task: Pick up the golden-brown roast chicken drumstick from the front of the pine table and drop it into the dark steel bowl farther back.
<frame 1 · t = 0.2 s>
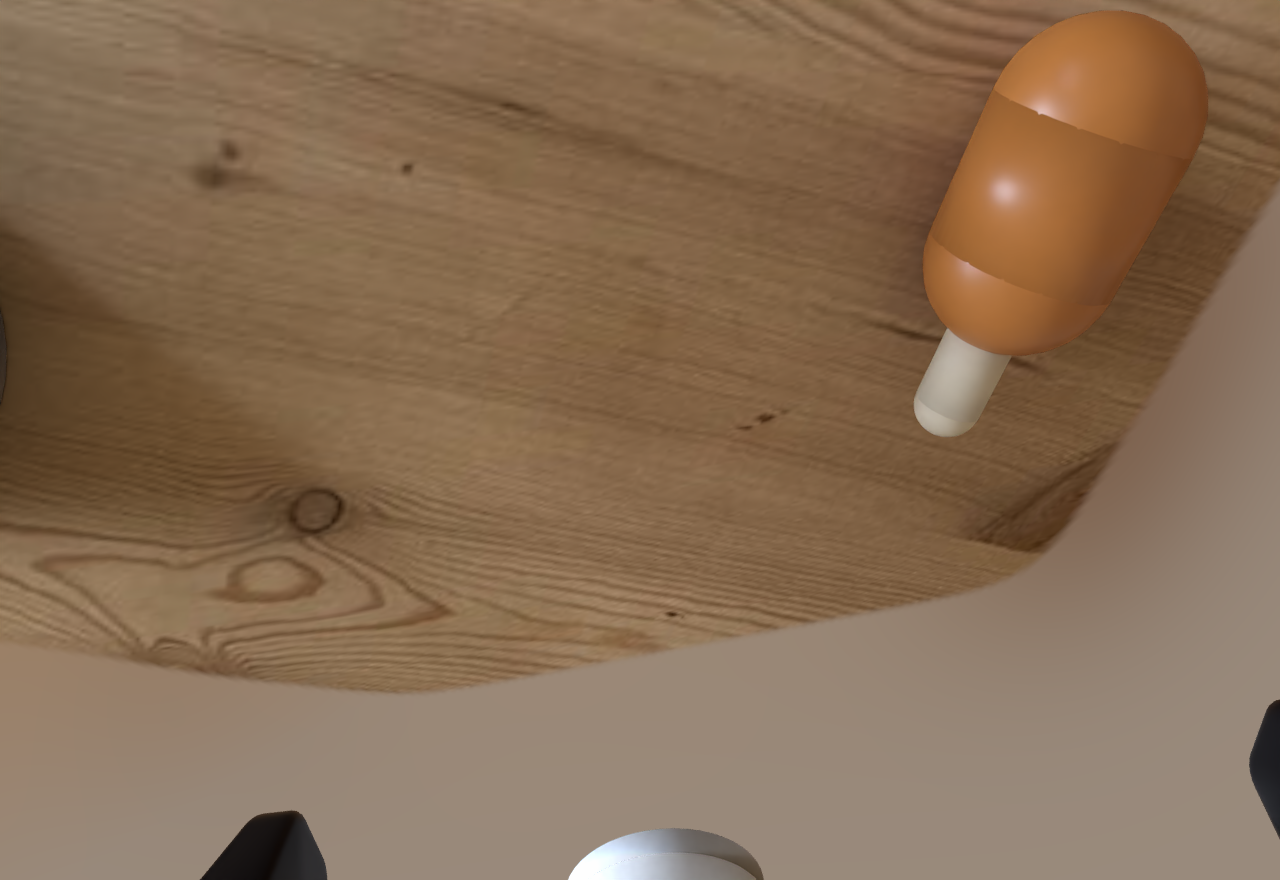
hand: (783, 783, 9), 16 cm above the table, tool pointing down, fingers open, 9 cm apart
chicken: (997, 206, 23), on the table
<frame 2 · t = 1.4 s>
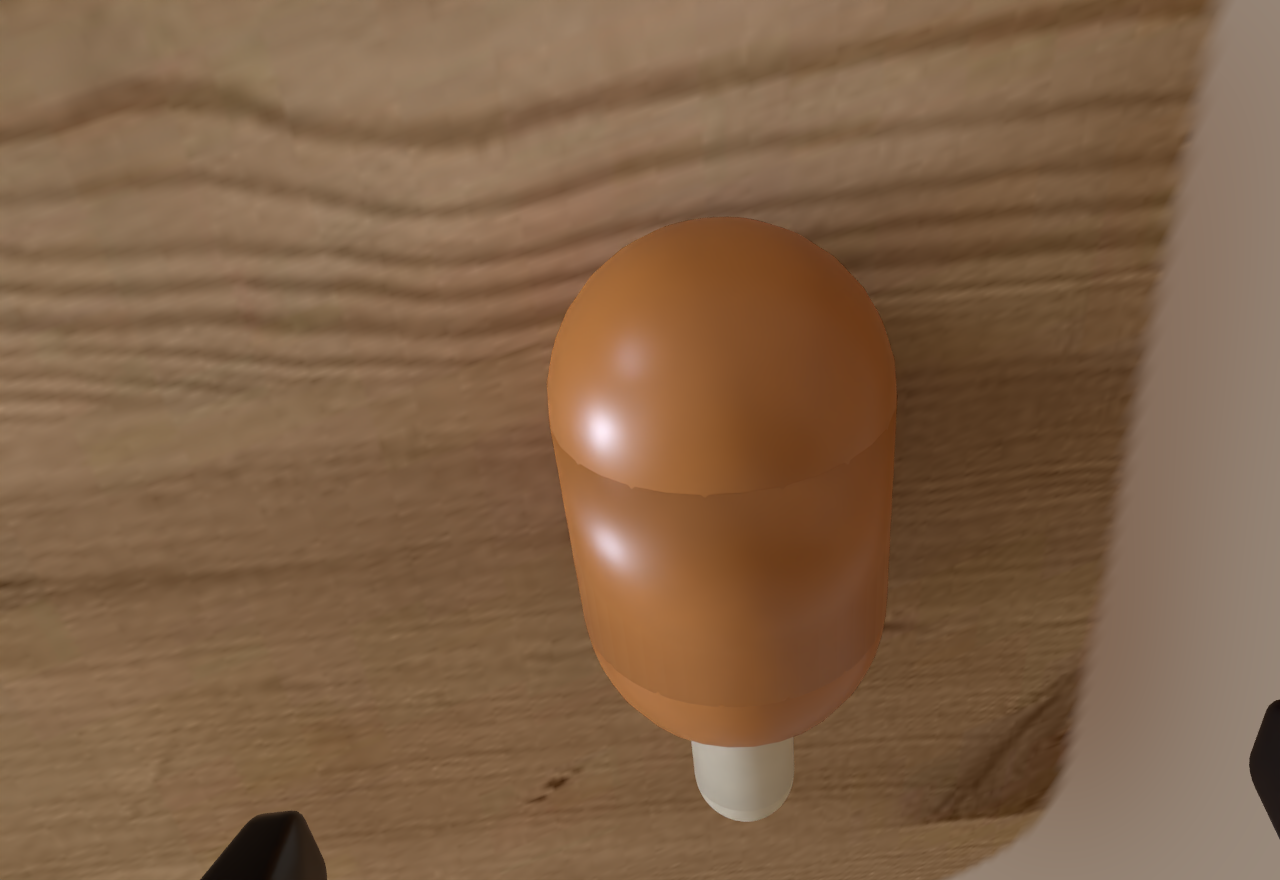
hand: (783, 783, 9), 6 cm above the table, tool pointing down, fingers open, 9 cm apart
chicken: (712, 471, 15), on the table
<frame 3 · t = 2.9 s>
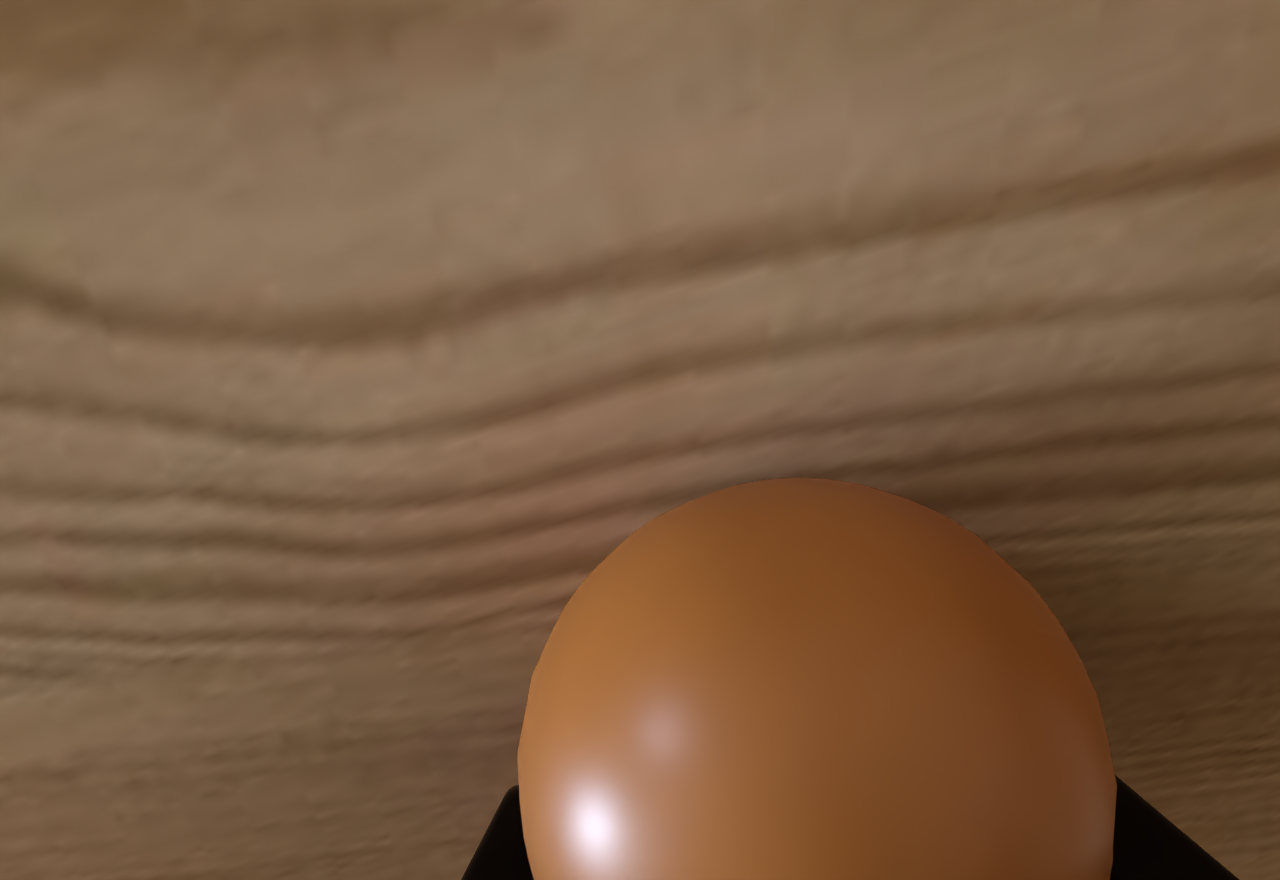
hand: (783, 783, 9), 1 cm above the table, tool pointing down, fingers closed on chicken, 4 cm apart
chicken: (766, 760, 10), on the table, touching gripper
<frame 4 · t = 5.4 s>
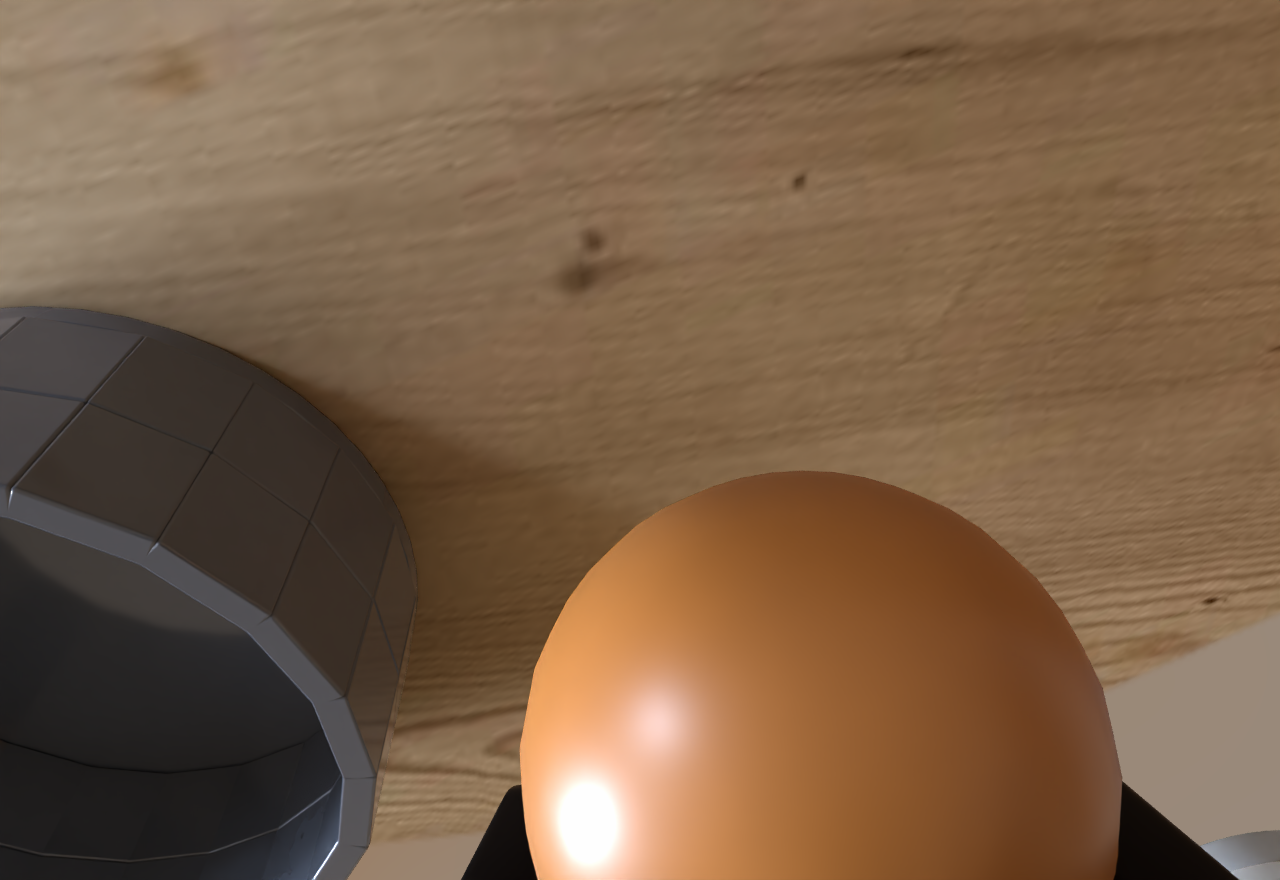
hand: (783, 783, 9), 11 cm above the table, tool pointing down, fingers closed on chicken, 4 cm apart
bowl: (123, 573, 21), on the table
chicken: (768, 756, 10), point 10 cm above the table, touching gripper
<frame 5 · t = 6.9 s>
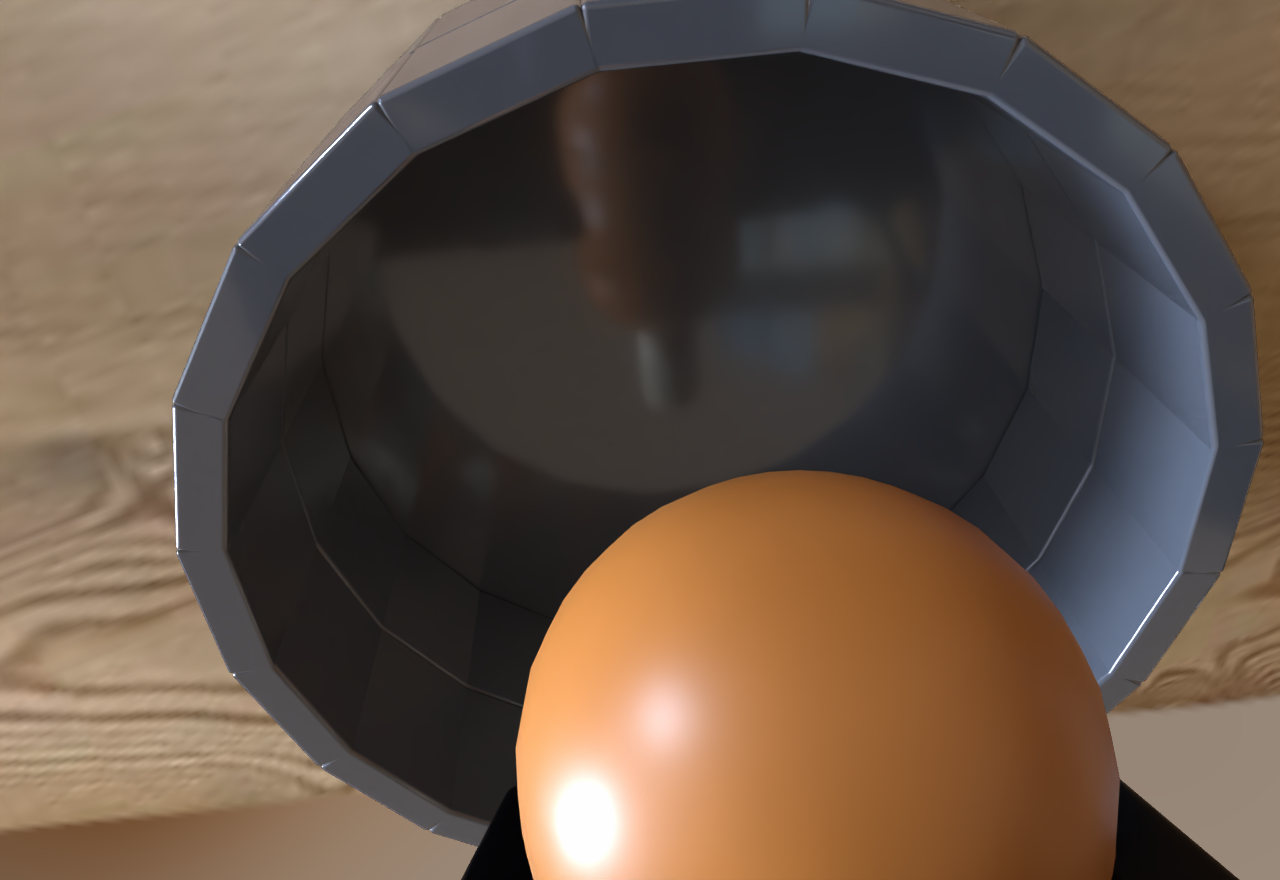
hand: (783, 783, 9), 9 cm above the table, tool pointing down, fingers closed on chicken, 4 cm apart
bowl: (682, 356, 16), on the table
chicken: (766, 756, 10), point 8 cm above the table, touching gripper
when the fingers open (5 cm above the table, at t = 8.1 s): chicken drops 2 cm, resting on bowl.
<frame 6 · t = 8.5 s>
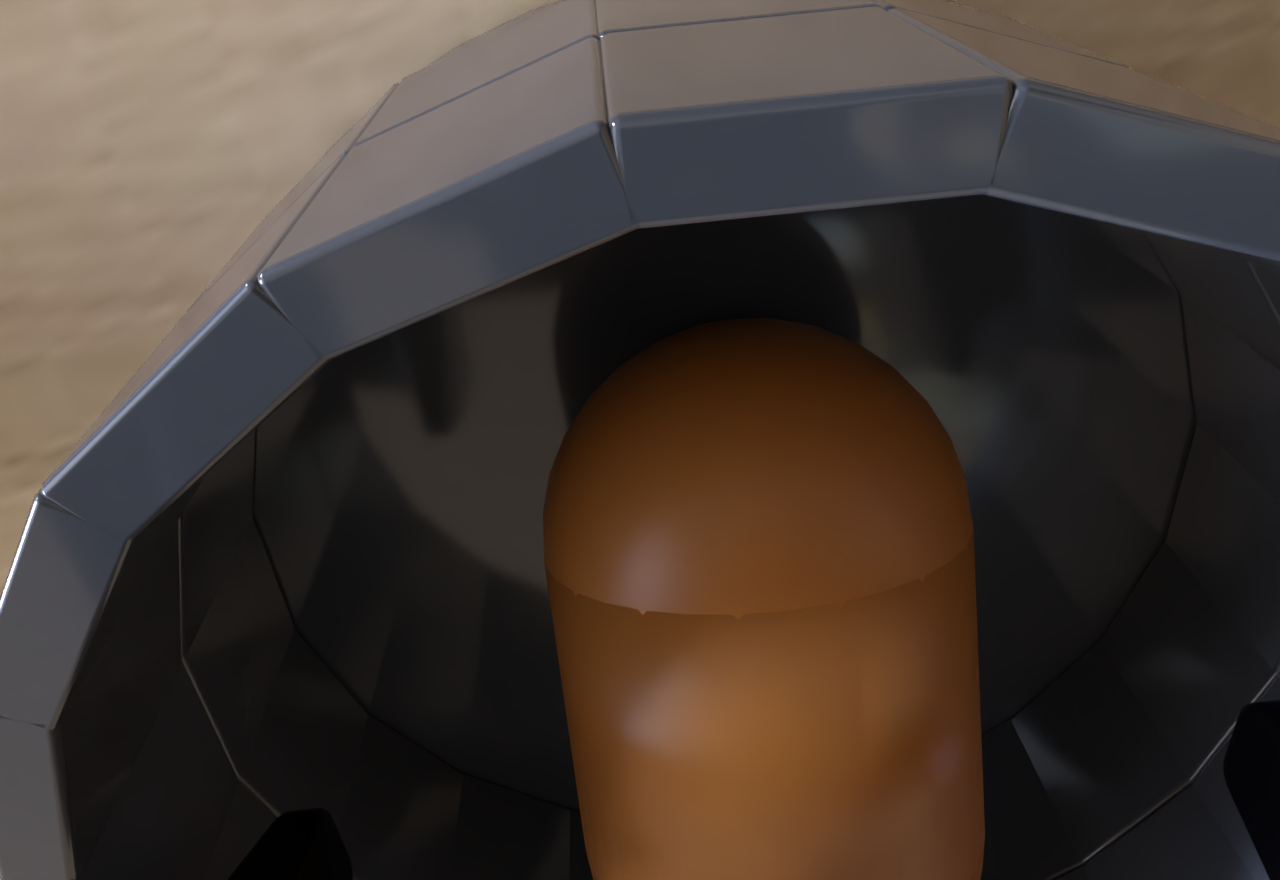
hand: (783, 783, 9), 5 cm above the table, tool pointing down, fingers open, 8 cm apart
bowl: (721, 499, 13), on the table
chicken: (746, 670, 12), point 2 cm above the table, tilted 20°, touching bowl
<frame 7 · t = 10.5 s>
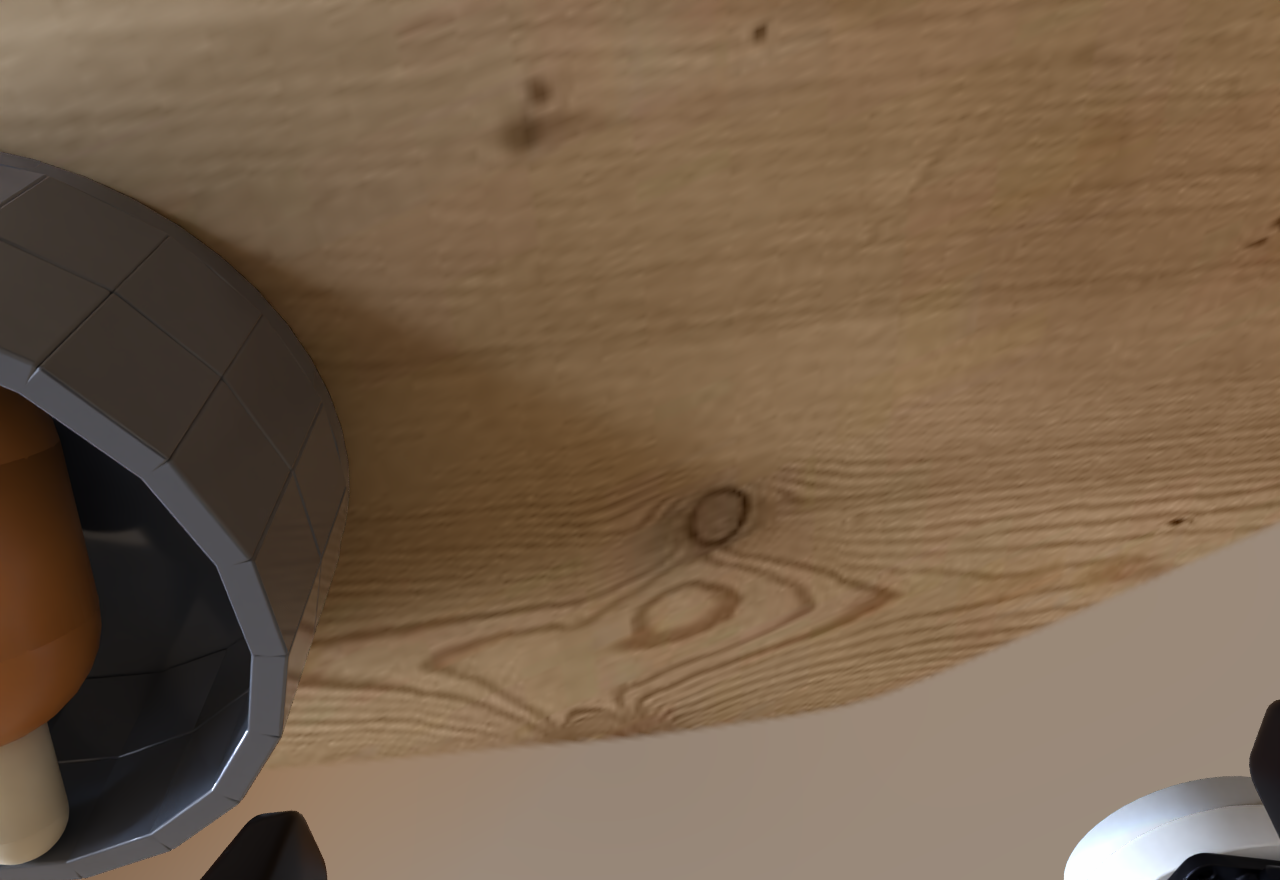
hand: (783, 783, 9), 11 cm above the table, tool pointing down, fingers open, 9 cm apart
bowl: (31, 454, 20), on the table
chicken: (28, 562, 19), point 2 cm above the table, tilted 20°, touching bowl
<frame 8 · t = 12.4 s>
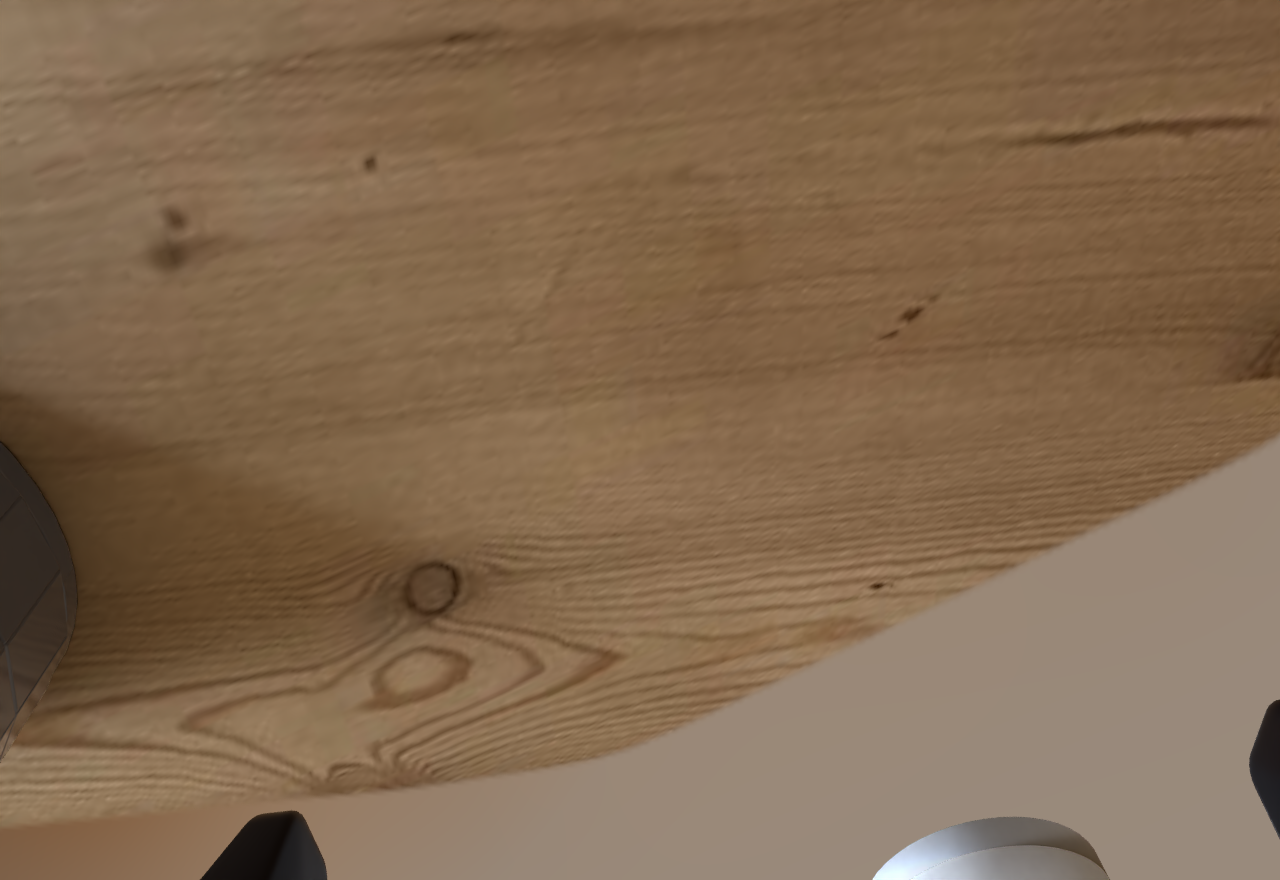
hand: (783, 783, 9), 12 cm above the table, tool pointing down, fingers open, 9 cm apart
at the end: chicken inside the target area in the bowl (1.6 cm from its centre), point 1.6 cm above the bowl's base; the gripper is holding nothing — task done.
